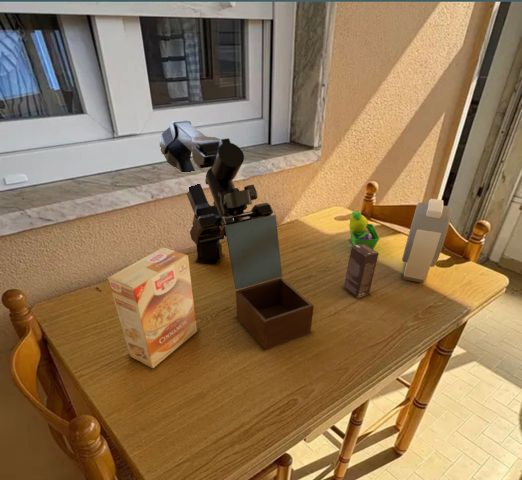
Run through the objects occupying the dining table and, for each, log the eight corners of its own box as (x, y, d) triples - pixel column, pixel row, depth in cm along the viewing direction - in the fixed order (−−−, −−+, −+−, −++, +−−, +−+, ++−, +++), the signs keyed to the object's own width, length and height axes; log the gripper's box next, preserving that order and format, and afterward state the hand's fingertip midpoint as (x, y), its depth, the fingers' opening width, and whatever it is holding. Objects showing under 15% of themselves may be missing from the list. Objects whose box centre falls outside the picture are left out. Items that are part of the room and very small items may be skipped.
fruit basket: (376, 254, 117) (384, 219, 110) (348, 254, 117) (354, 218, 110) (369, 238, 126) (376, 204, 119) (342, 238, 126) (348, 204, 119)
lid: (275, 214, 85) (274, 214, 85) (225, 225, 80) (224, 225, 81) (282, 276, 91) (280, 275, 92) (236, 289, 87) (235, 289, 87)
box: (370, 294, 101) (379, 252, 93) (356, 298, 99) (365, 256, 91) (356, 283, 105) (364, 242, 97) (342, 287, 103) (350, 246, 95)
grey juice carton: (427, 290, 102) (453, 217, 89) (395, 284, 104) (415, 211, 91) (431, 261, 115) (454, 192, 101) (402, 255, 117) (421, 188, 104)
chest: (310, 332, 88) (313, 305, 83) (264, 349, 84) (264, 321, 78) (280, 304, 97) (281, 277, 92) (236, 318, 92) (235, 290, 87)
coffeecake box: (153, 369, 79) (133, 288, 66) (128, 356, 81) (104, 277, 69) (199, 331, 88) (189, 254, 75) (175, 321, 91) (162, 245, 78)
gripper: (193, 179, 79) (218, 249, 79) (270, 166, 86) (293, 231, 86) (184, 204, 90) (207, 266, 90) (253, 192, 97) (274, 249, 97)
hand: (246, 253), depth 90 cm, fingers closed
